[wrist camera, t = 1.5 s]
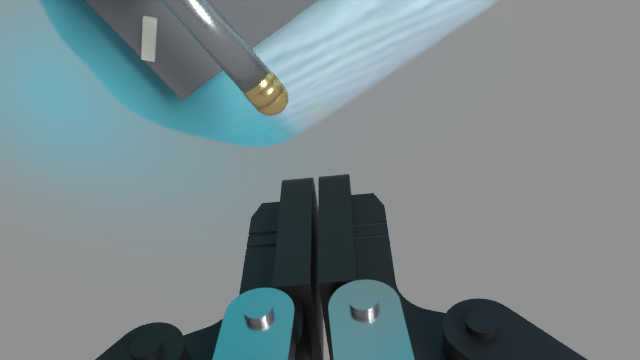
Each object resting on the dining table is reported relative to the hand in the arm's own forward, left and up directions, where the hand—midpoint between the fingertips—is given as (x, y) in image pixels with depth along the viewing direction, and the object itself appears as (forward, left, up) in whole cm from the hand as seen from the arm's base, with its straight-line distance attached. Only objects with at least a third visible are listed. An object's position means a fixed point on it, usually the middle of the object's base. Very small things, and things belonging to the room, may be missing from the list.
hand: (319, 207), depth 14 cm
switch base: (-7, -2, -21) cm, 22 cm away
